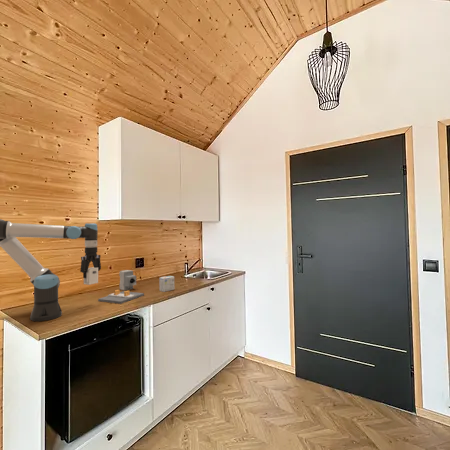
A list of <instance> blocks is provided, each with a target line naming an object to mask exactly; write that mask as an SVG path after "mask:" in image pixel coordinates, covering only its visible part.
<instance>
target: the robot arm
mask: <svg viewBox="0 0 450 450" xmlns="http://www.w3.org/2000/svg"><path fill="white" fill-rule="evenodd" d="M18 238H34V239H35V238H37V239H38V238H40V239H43V238H44V239H66V240H67V239H69V240H77V239H84V253H85V254H84V256H80V260H81V261H80V262H81V263H80V273H82V278H83V284H84V283H88V273H87V271H88V268H90V263H91V262H92V265H93V267H95V268H98V272H99V271H100V270H101V269H102V265H101V254H98V224H97V223H85V224H84V226H78V225H77V226H76V225H55V224H54V225H53V224H40V223H39V224H36V223H35V224H34V223H33V224H32V223H18V222H17V223H16V222H11V221H10V220H4V219H2V218H1V219H0V247H1V249H2V250H3V251H4V252H5V253H6V254H7V255H8V256H9V257H10V258H11V259H12V260H13V261H14V262H15V263H16V264H17V265H18V266H19V268H21V269H22V270H23V271H24V272H25V273H26V274H27V275H28V277H29V278H30V283H31V284H32V285H33V306H32V310H31V312H30V313H31V314H30V316H29V318H30V319H29V320H30V321H31V320H32V321H31V322H46V321H51V320H54V319H55V320H56V319H58V318H60V317H61V316H63V312H62V311H63V310H62V308H61V306H60V302H59V287H60V284H61V280H60V277H59V276H58V275H57V274H55V273H53V272H52V270H51V269H50V268H47V267H44V266H43V265H42V264H41V263H40V262H39V261H38V259H37V258H36V257H35V256H34V255H33V254H32V253H31V252H30V251H29V250H28V249H27V247H25V246H24V245H23V244H22V242H21V241H20V240H19V239H18ZM50 319H51V320H50ZM45 320H46V321H45Z"/></svg>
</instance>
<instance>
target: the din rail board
mask: <svg viewBox="0 0 450 450" xmlns="http://www.w3.org/2000/svg"><path fill="white" fill-rule="evenodd" d="M120 290H121V289H116V290H114V291H113V293H110V294H107V296H103V297H100V298H98V299H97V301H98V302H102V303H112V304H120V305H121V304H124V303H127V302H130V301H133V300H135V299H139V298H140V297H143V296H145V293H143V292H133V291H130V290H121V291H120Z"/></svg>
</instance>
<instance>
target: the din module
mask: <svg viewBox="0 0 450 450" xmlns="http://www.w3.org/2000/svg"><path fill="white" fill-rule="evenodd" d="M87 273H88V283H84V282H83V285H87V286H88V285H89V286H90V285H94V284H95V285H96V284H99V271H98V268H95V267H94V266H93V267H92V266H91V267H88V271H87Z"/></svg>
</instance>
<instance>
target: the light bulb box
mask: <svg viewBox="0 0 450 450" xmlns="http://www.w3.org/2000/svg"><path fill="white" fill-rule="evenodd" d="M158 279H159V291H160V292H164V293H166V292H169V291H173V290H175V276H173V275H167V276H161V277H159V278H158Z"/></svg>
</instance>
